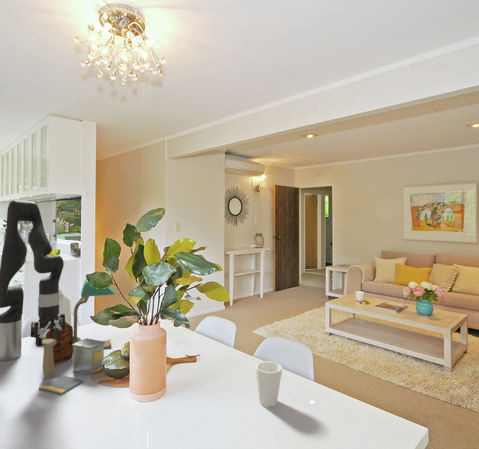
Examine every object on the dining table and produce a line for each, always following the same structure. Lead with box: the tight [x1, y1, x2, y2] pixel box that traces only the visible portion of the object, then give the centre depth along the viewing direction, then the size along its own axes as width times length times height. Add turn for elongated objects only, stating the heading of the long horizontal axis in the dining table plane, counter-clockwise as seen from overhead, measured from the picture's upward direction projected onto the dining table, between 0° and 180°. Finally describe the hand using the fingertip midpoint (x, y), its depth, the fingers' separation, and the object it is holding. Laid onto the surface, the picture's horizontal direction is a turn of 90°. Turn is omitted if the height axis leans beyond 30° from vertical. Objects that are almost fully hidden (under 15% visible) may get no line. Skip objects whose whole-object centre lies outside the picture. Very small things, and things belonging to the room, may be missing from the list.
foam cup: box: [255, 360, 283, 408], centre depth 118 cm, size 10×9×13 cm
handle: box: [41, 338, 56, 379], centre depth 134 cm, size 5×6×15 cm
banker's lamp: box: [71, 278, 116, 354], centre depth 165 cm, size 16×21×35 cm
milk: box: [42, 288, 72, 339], centre depth 183 cm, size 12×12×26 cm
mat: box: [38, 375, 85, 396], centre depth 127 cm, size 11×11×1 cm
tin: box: [72, 338, 105, 376], centre depth 141 cm, size 11×8×12 cm
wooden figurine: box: [45, 322, 74, 365], centre depth 150 cm, size 12×6×18 cm, turn 161°
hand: (48, 342), depth 134 cm, fingers open, 8 cm apart
